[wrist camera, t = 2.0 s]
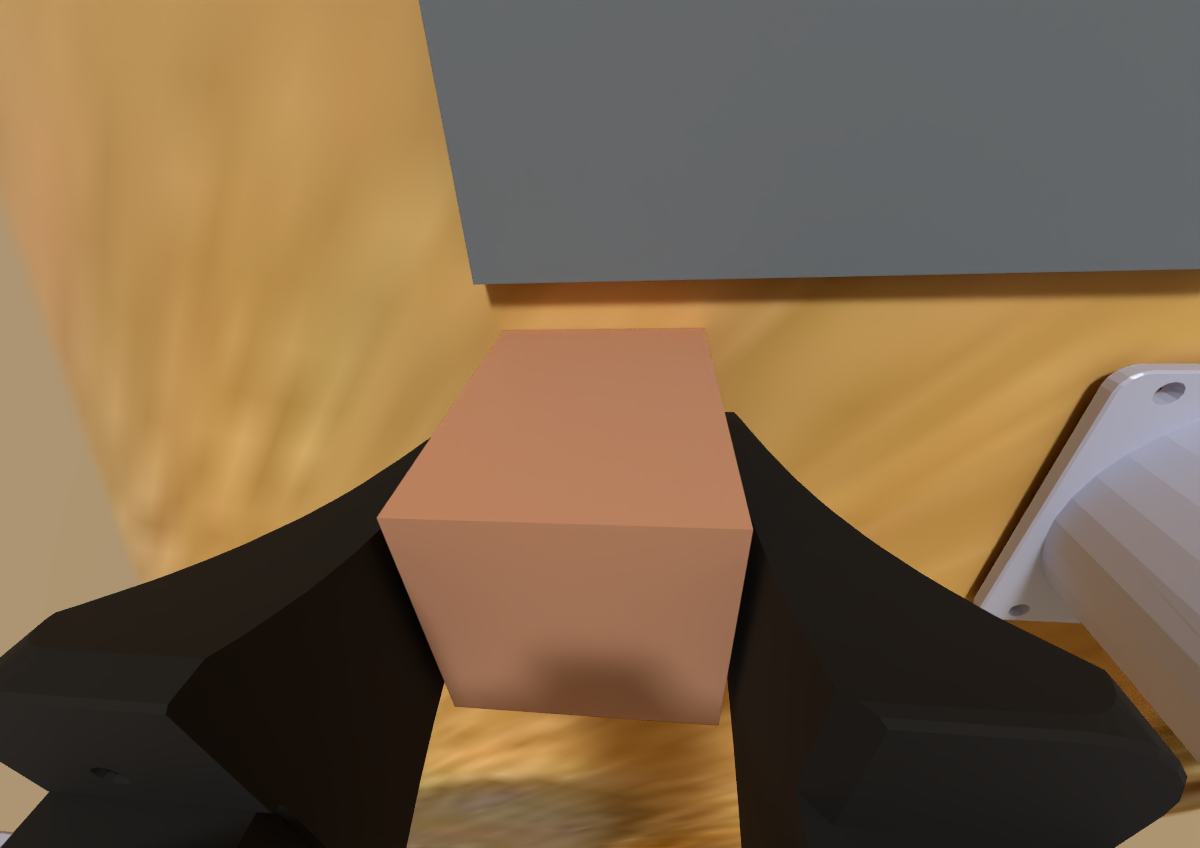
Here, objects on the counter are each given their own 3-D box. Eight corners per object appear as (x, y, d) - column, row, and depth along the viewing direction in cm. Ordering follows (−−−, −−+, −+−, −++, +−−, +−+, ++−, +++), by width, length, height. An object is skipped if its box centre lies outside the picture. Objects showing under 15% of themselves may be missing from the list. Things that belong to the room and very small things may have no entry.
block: (704, 328, 10) (753, 529, 5) (692, 486, 13) (718, 726, 8) (503, 330, 11) (376, 518, 6) (529, 482, 13) (454, 706, 8)
